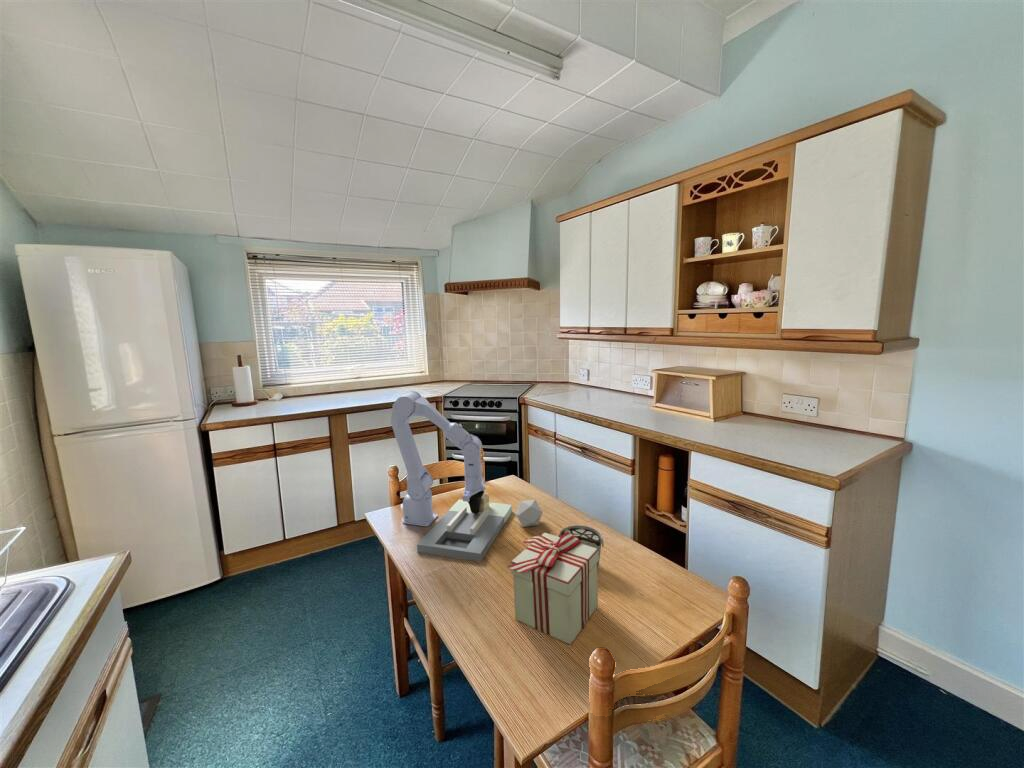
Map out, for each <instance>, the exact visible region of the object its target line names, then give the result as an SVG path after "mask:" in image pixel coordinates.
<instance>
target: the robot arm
mask: <svg viewBox="0 0 1024 768" xmlns="http://www.w3.org/2000/svg"><path fill="white" fill-rule="evenodd" d="M412 416H413V417H425V418H426V419H427V420H429V421H430V422H432V423H433V425H435V426H437V427H438V428H439V429H441V430H442V431H443V435H444V438H446V439H447V440H449V441H450V442H451V443H452V444H453V445H455V447H456V448H457V449H460V452H461V455H462V457H463V459H464V460H463V468H464V471H463V472H464V485H465V486H464V490H463V495H462V500H463V501H467V502H468V503H469V506H470V509H471V512H472V513H478V512H479V508H480V502H481V498H482V496H483V494H484V492H485V490H486V489H487V486H485V478H484V477H483V466H482V465H483V464H482V453H481V450H482V448H483V443H482V441H481V439H480V438H479V437H478V436H476V435H473V434H472V433H471V434H470V433H469V432H468V431H467V430H465V428H463V425H462V423H457V422H450V420H448V419H447V418H446V417H445V416H444V415H443V414H442V413H441V412H440V411H438V410H437V408H435V407H434V406H433V405H432V404H431V403H430V402H429V401H428V400H427V398H426V397H424V396H422V395H421V393H419V392H418V391H415V390H410V391H408V392H407V393H405V394H404V395H402V396H399V397H398V398H396V399H395V401H394V403H393V404H392V412H391V417H390V424H391V428H392V431H393V434H394V437H395V440H396V442H397V443H396V444H397V446H398V448H399V451H400V454H401V457H402V461H403V462H404V465H405V468H406V471H407V472H406V479H405V481H406V485H407V486H406V487H407V488H406V493H407V494H406V495H405V496H404V497H403V501H402V512H403V513H402V515H403V521H402V524H406V525H413V526H420V527H429V526H430V525H431V524H432V523H433V522H434V521H435V520H436V519H437V518H438V517H439V514H438V513H434V507H433V506H434V505H433V494H432V493H433V492H432V490H431V487H432V486H433V484H434V479H433V476H432V475H431V474H430V473H429V471H428V468H427V467H426V466H424V465H423V462H422V460H421V457H420V454H419V451H418V448H417V444H416V442H415V441H416V440H415V437H414V436H413V432H412V430H411V427H410V424H409V421H410V420H411V418H412Z"/></svg>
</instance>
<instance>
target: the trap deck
mask: <svg viewBox="0 0 1024 768" xmlns="http://www.w3.org/2000/svg"><path fill="white" fill-rule="evenodd" d="M512 512H513V505H512V504H508V503H499V502H490V501H489V507H488V509H485V510H484V511H483V512H482V513H481V512H478V513H472V512H471V511H470V506H469V503H468V502H467V501H463V498H460V499H458V500H457V501H456V502H455V503H454V504H453V505H452V506H451V508H450V509H448V510H447V512H446V513H445V514H444V515H443V516H442V517H441V518H440V519H439V520H438V521H437V522H436V523H435V524H434V525H433V527H431V528H430V530H429V531H428V532H427V533H426V534H425V535H424V536H423V537H422V538H421V540H419V542H418V543H417V544H416V549H417V550H416V551H417V553H421V554H428V555H435V556H441V557H446V558H447V557H448V558H453V559H461V560H465V561H466V560H467V561H474V562H479V563H481V562H482V561H483V560H484V558H485V555H486V554H487V552H488V551H489V549H490V547H491V546H492V544H493V543H494V541H495V540H496V538H497V536H498V535H499V533H500V532H501V530H502V528H503V527H504V525H505V524H506V522H507V520H508V519H509V517H510V516H511V514H512Z"/></svg>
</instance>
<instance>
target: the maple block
mask: <svg viewBox="0 0 1024 768" xmlns="http://www.w3.org/2000/svg"><path fill="white" fill-rule="evenodd" d="M489 494H490V493H489V492H486V491H484V494H483V496H482V498H481V502H480V508H479V512H481V513H482V512H483V511H484V510H485V509H488V507H489V502H490V495H489ZM470 511H471V509H470Z"/></svg>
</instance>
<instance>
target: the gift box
mask: <svg viewBox="0 0 1024 768" xmlns="http://www.w3.org/2000/svg"><path fill="white" fill-rule="evenodd" d="M580 542H581V541H580V540H579V539H578V538H576V537H575V536H573V535H572V534H571V533H569V532H566V533H564V534H563V535H562V536H561V537H559V535H553V534H551V533H547V532H543V533H542V534H541V535H540V534H538V535H535V536H532V537H531V538H529V539H527V540H523V541H522V543H523V544H529V545H528V546H527V547H526V548H525V549H524V550H522V552H520V553H519V554H518V555H517V556H516V557H515V558H514V559H511V561H510V565H507V566H506V567H507V568H509V569H510V573H511V575H512V577H513V578H512V579H513V600H514V601H513V602H514V615H515V617H514V618H515V620H516V621H518V622H519V623H522V624H524V625H527V626H528V627H531V628H533V629H535V630H537V631H539V632H541V633H543V634H546V635H547V636H550V637H552V638H554V639H556V640H559V641H561V642H562V643H565V644H567V645H572V644H573V642H574V641H575V639H576V637H577V636H578V635H579V633H580V632H581V630H583V629H584V627H585V625H586V624H587V622H588V621H589V619H590V618H591V616H592V615H593V614H594V612H595V611H596V609H597V607H599V596H598V595H599V592H598V591H599V590H598V587H599V586H598V574H597V562H598V561H599V562H600V559H599V549H597V548H594V547H591V546H588V545H584V544H581V543H580Z"/></svg>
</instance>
